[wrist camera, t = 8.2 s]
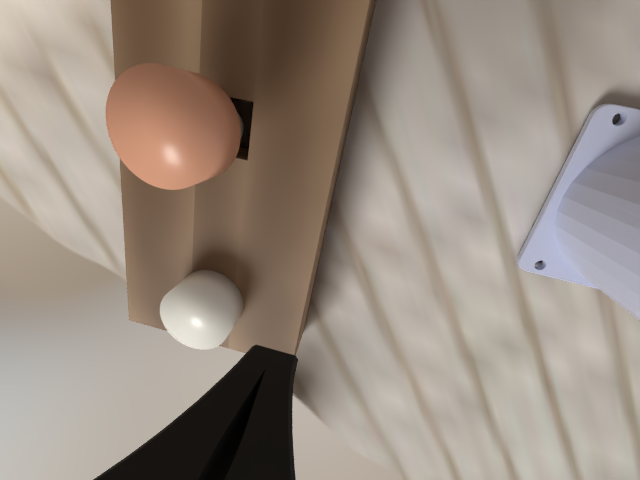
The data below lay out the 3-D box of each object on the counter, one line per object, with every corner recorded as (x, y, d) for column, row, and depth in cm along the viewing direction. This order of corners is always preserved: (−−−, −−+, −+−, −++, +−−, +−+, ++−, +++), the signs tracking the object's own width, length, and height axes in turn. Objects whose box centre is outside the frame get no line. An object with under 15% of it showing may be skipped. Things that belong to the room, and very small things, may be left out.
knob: (263, 257, 19) (231, 298, 14) (257, 307, 20) (225, 357, 16) (206, 243, 19) (159, 279, 15) (204, 293, 20) (159, 338, 16)
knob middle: (271, 89, 13) (220, 76, 9) (260, 176, 14) (212, 201, 10) (188, 71, 13) (100, 51, 9) (186, 158, 14) (109, 176, 10)
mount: (420, -201, 11) (435, -305, 8) (303, 332, 20) (291, 366, 18) (157, -236, 12) (91, -344, 9) (161, 293, 21) (129, 320, 18)
